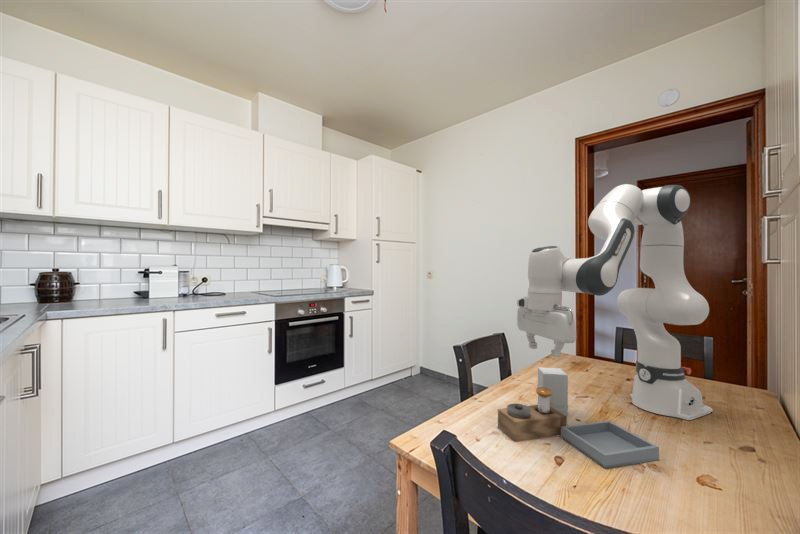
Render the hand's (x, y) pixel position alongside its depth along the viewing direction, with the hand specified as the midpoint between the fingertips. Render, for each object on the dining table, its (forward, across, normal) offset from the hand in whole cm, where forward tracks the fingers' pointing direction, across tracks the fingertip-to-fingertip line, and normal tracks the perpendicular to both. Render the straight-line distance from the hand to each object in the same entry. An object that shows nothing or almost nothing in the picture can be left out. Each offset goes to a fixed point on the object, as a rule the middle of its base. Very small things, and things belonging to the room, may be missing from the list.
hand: (543, 352), depth 90 cm
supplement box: (+22, +10, -11) cm, 26 cm away
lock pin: (+22, 0, 0) cm, 22 cm away
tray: (+21, -12, -9) cm, 26 cm away
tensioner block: (+22, 0, +4) cm, 22 cm away
